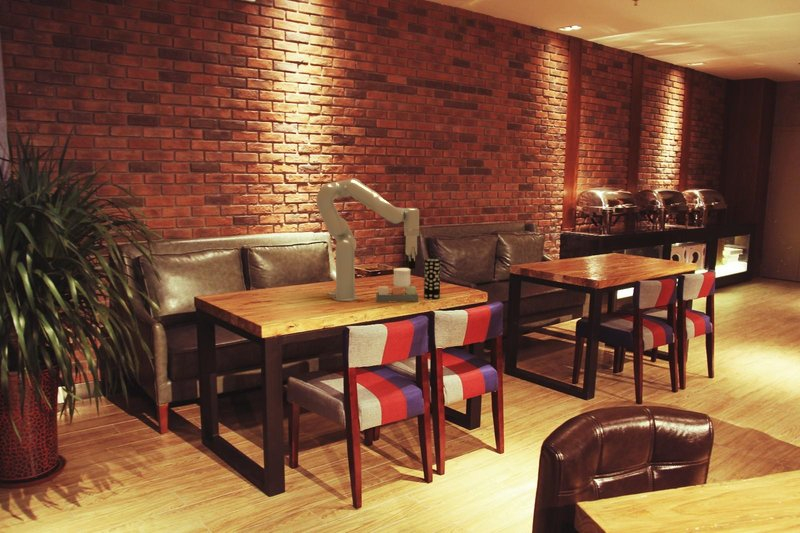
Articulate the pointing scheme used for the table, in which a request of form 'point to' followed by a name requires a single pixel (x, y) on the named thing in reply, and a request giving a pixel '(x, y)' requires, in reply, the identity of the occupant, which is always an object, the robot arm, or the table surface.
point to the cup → (401, 277)
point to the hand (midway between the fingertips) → (411, 268)
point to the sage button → (410, 290)
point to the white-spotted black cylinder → (432, 278)
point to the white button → (382, 290)
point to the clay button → (396, 290)
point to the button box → (396, 297)
